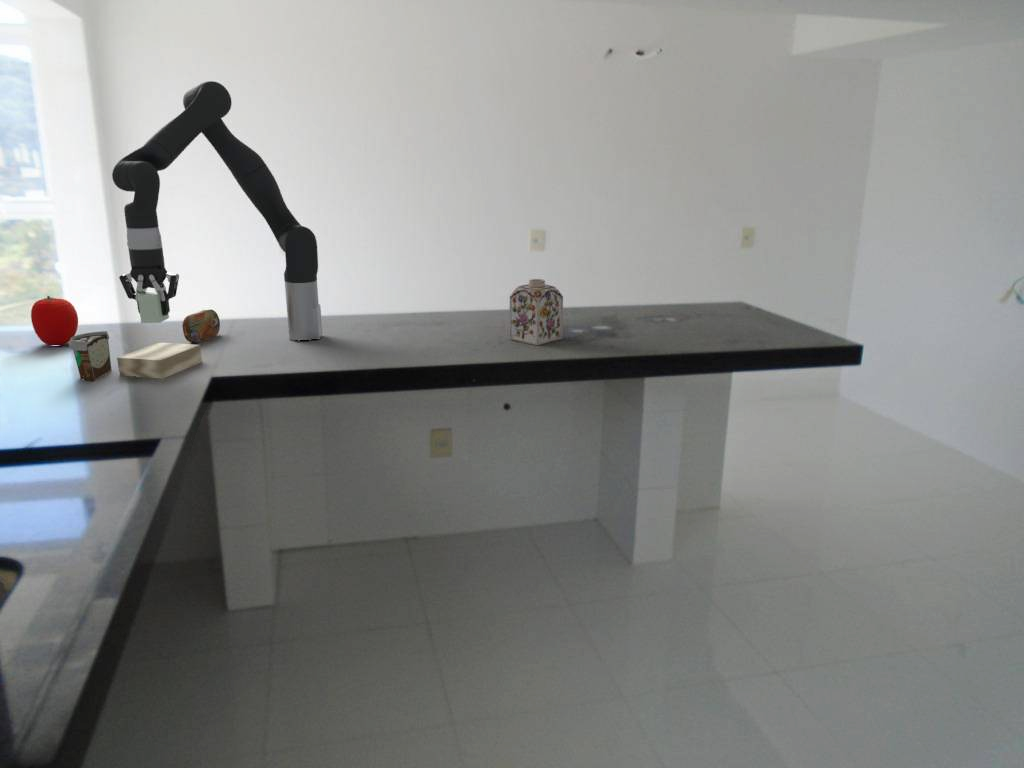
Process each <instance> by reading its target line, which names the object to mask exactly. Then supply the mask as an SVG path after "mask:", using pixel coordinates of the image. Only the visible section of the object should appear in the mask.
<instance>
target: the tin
mask: <svg viewBox="0 0 1024 768" xmlns="http://www.w3.org/2000/svg"><path fill="white" fill-rule="evenodd" d="M220 328H221V321H220V318H219V315H218V313H217V312H216V311H215V310H214V309H202V310H201V311H197V312H194V313H191V314H189V315H187V316H186V317H184V319H183V321H182V333H183V336H184V338H185V339H186V341H187V342H189V343H193V344H195V343H196V344H200V343H202V342H205V341H207V340H211V339H213V338H215V337H216V336H217V335H218V334H219V332H220Z"/></svg>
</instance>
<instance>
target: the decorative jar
mask: <svg viewBox="0 0 1024 768" xmlns="http://www.w3.org/2000/svg"><path fill="white" fill-rule="evenodd" d="M508 318H509V321H508V323H509V325H508V327H509V341H515V342H519V343H524V344H529V345H532V346H533V345H534V346H541V345H544V344H550V343H553V342H556V341H561V340H562V339H563V328H564V327H563V324H564V296H563V295H562V293H561V292H560V290H559V289H557V287H556V286H554V285H549V284H546V280H545V279H542V278H532V279H529V280H528V284H522V285H519V286H517V287H516V288H515V289H514V290H513V291H512V293H511V294H510V295H509V317H508Z"/></svg>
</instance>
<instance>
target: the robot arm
mask: <svg viewBox="0 0 1024 768" xmlns="http://www.w3.org/2000/svg"><path fill="white" fill-rule="evenodd" d="M182 97H183V98H182V103H183V104H182V105H183V108H184V110H183V111H182V112H180V113H179V114H178V115H177V116H176V117H174V118H172V119H171V120H170V121H169V122H168V123H166V124H165V125H164V126H162V127H161V128H160V129H158V130H157V131H156V132H154V134H153V135H152V136H151V137H150V138H148V140H147V141H145V143H144V144H143V146H140V147H139V148H137V149H135V150H134V151H132V152H130V153H129V154H127V155H126V156H124V157H123V158H121V159H120V160H118V161H117V163H116V164H115V165H114V167H113V170H112V173H111V175H112V177H111V178H112V181H113V184H114V185H115V187H117V188H118V189H120V190H122V191H123V192H124V191H125V192H130V193H131V192H133V193H134V196H133V200H132V202H129V203H126V204H125V205H124V208H123V209H124V210H123V211H124V217H125V225H126V241H127V242H126V244H127V245H126V246H127V248H128V254H129V263H130V267H131V270H130V272H129V273H127V274H126V273H125V274H124V273H123V274H121V275H119V278H118V279H119V282H121V285H122V288H123V289H124V292H125V294H126V296H127V298H128V299H130V300H131V299H133V300H135V302H136V303H137V304H136V305H137V310H138V311H137V312H138V314H139V315H140V310H139V303H138V296H137V295H138V294H142V293H143V292H146V291H148V290H147V289H148V288H150V289H154V291H156V292H157V293H159V296H160V299H161V301H160V302H161V310H162V315H163V316H166V315H168V313H170V311H171V310H170V309H171V307H170V300H171V299H173V298H175V297H176V296H177V291H178V287H179V279H180V275H179V273H175V274H173V273H170V272H168V270H167V269H166V267H165V257H164V250H163V242H162V235H161V232H160V231H161V230H160V228H159V220H158V219H159V218H158V212H157V208H158V204H159V203H158V202H159V195H160V188H161V180H160V179H161V178H160V175H159V173H158V172H159V171H160V172H161V171H163V170H166V169H167V168H169V167H170V165H172V163H173V162H174V161H176V159H177V158H178V157H179V156H181V154H182V153H183V152H184V150H186V149H187V147H189V146H190V144H191V143H192V142H193V141H194V140H195V139H196V138H197V137H198V136H199V135H200V134H201V133H202V135H203V136H204V137H205V138H206V139H207V141H208V142H209V144H210V145H211V146H212V147H213V149H214V150H215V151H216V153H217V154H218V156H219V157H220V158H221V160H222V161H223V163H224V164H225V165H226V167H227V169H228V170H229V171H230V173H231V174H232V176H233V177H234V179H235V180H236V182H237V184H238V186H239V187H240V189H241V190H242V191H243V192H244V194H245V195H246V196H247V198H248V199H249V200H250V202H251V203H252V205H253V206H254V207H255V208H256V210H257V211H258V212H259V213H260V214H261V216H262V217H263V219H264V220H265V221H266V222H265V223H267V225H268V226H269V229H270V231H271V232H272V235H273V236H274V237H275V239H276V241H277V243H278V246H279V247H280V249H281V250H282V251H283V252H284V254H285V270H284V272H283V277H284V278H283V280H284V288H285V302H286V304H285V305H286V313H287V314H286V315H287V327H288V337H289V340H291V341H295V340H298V341H297V342H301V341H300V340H309V341H312V340H311V339H318V338H320V337H321V338H322V336H323V323H322V309H321V307H322V306H321V304H320V302H319V291H318V289H319V288H318V276H317V275H318V272H319V258H318V257H319V256H318V243H317V237H316V235H315V233H314V232H313V231H312V230H311V229H310V228H308V227H306V226H303V225H301V223H300V222H299V221H298V220H297V219H296V218H295V216H294V215H293V214H292V212H291V211H290V209H289V208H288V206H287V204H286V202H285V200H284V197H283V194H282V192H281V190H280V187H279V184H278V181H276V178H275V176H274V174H273V173H272V171H271V170H270V169H269V167H268V166H267V164H266V162H265V161H264V160H263V158H262V156H261V155H260V154H259V153H257V152H256V150H254V149H252V148H250V147H249V146H248V145H247V144H245V143H244V142H242V141H241V140H240V139H238V137H236V136H235V135H234V134H233V133H232V132H231V131H230V129H229V128H228V126H227V125H226V124H225V122H224V121H223V119H222V118H224V117H225V116H227V115H228V114H229V112H230V111H231V108H232V102H233V101H232V97H231V94H230V92H229V91H228V89H227V88H226V87H225V86H224V85H223V84H221V83H220V82H217V81H213V80H210V81H204V82H202V83H199V84H198V85H196V86H194V87H192V88H190V89H189V90H187V91H186V92H184V95H183V96H182ZM166 278H167V281H168V283H169V285H168V291H167V287H166V286H165V283H164V281H165V279H166ZM133 280H134V281H135V282H136V290H135V288H134V285H133V283H132V282H133ZM321 335H322V336H321ZM321 338H320V339H321Z"/></svg>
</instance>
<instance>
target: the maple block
mask: <svg viewBox="0 0 1024 768" xmlns="http://www.w3.org/2000/svg"><path fill="white" fill-rule="evenodd" d="M116 359H117V366H118V367H117V368H118V372H119V373H118V374H119V376H120V375H121V377H133V376H136V377H135V378H149V379H162V380H163V379H165V378H167V377H169V376H172V375H174V374H178V373H179V372H182V371H184V370H187V369H189V368H191V367H194V366H196V365H198V364H200V363H203V359H202V351H201V344H194V343H193V344H191V343H176V342H175V343H173V342H157V343H155V344H152V345H149V346H145V347H143V348H140V349H137V350H135V351H131V352H129V353H126V354H123V355H120V356H117V357H116Z"/></svg>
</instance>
